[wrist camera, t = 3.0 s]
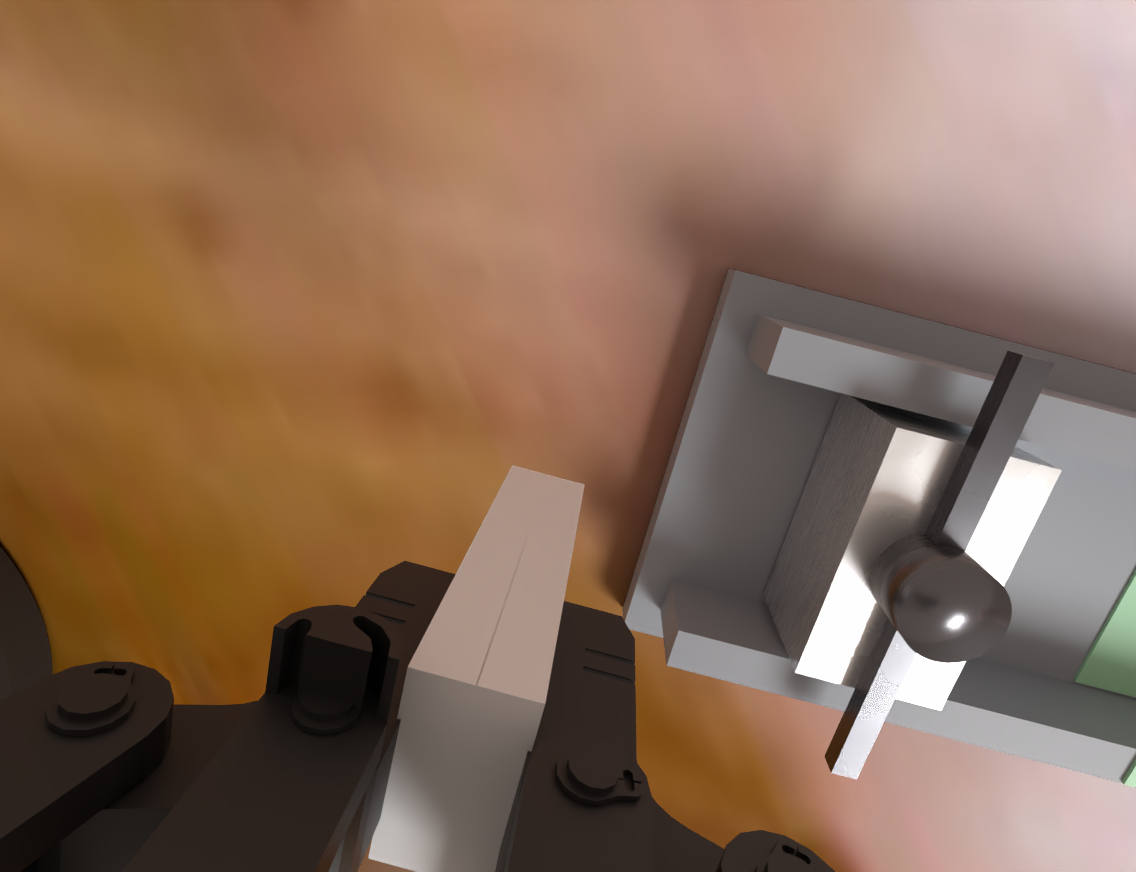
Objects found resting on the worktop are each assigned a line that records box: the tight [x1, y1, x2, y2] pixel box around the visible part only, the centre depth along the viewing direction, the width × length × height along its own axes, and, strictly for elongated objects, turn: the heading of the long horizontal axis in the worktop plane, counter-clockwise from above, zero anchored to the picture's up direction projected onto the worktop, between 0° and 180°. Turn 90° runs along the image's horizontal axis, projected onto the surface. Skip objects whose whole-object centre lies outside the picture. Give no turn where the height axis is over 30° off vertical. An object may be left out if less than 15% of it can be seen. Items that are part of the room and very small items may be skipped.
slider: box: [764, 351, 1062, 780], centre depth 18 cm, size 4×12×6 cm, turn 166°
